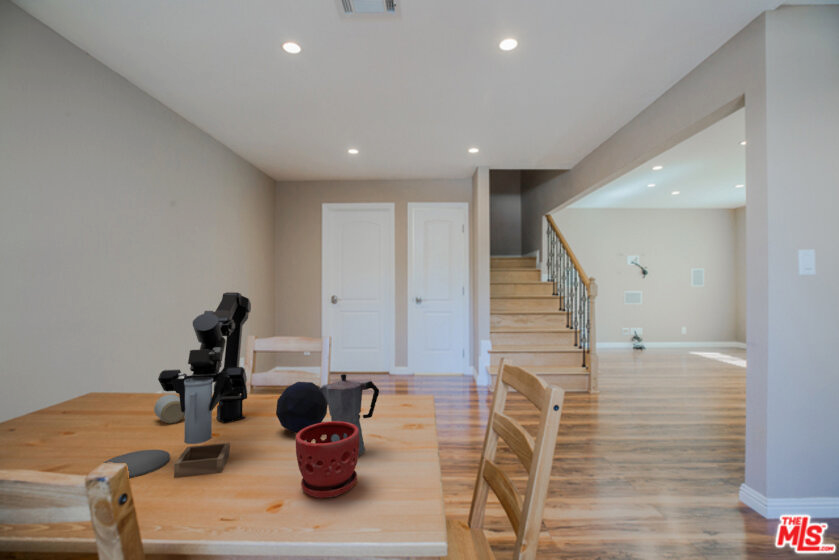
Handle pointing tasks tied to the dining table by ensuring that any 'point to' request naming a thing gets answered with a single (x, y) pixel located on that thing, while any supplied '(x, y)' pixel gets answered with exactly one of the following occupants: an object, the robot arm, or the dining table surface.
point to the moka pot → (348, 403)
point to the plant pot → (327, 458)
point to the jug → (198, 410)
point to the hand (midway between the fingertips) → (196, 410)
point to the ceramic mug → (169, 409)
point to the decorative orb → (301, 406)
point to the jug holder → (202, 460)
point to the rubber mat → (142, 461)
